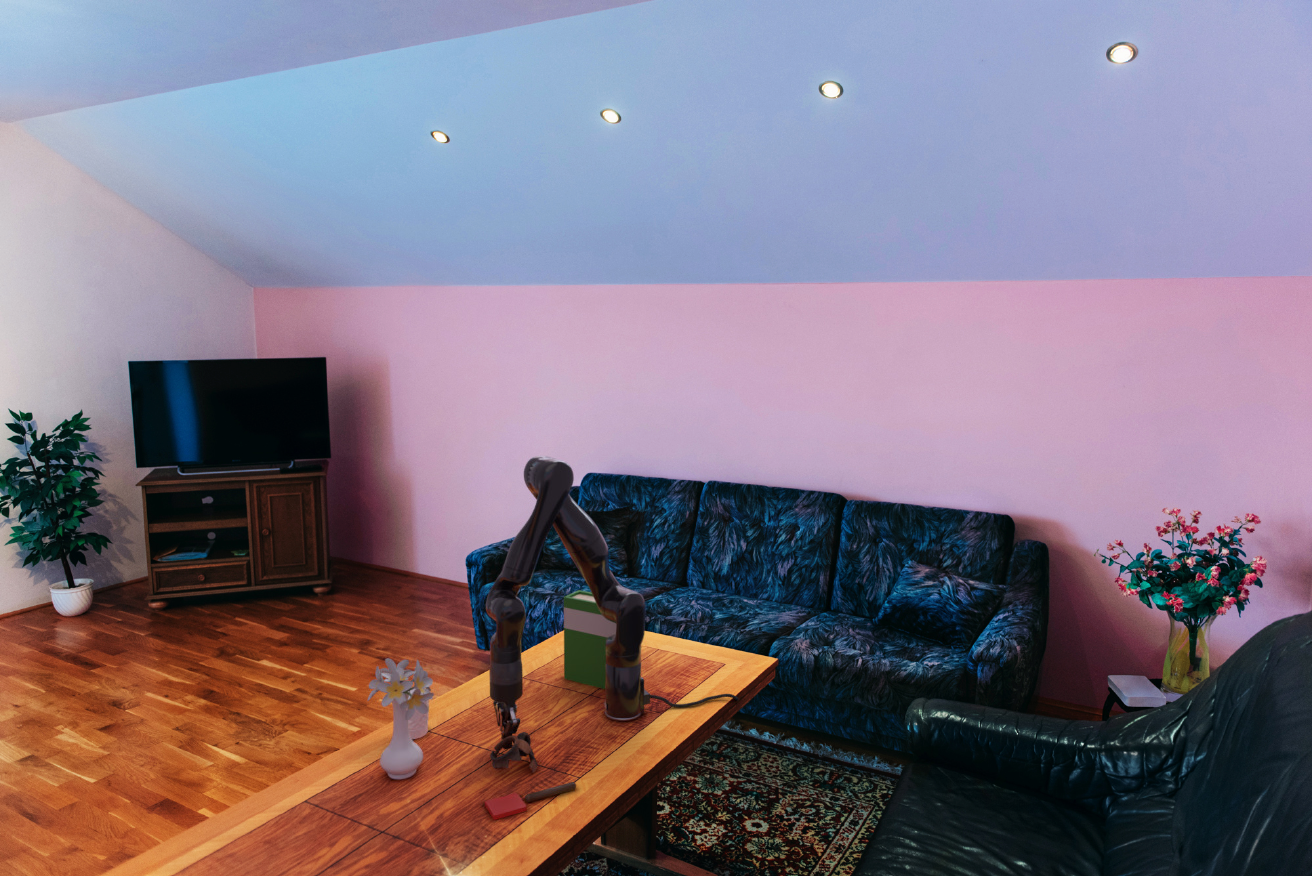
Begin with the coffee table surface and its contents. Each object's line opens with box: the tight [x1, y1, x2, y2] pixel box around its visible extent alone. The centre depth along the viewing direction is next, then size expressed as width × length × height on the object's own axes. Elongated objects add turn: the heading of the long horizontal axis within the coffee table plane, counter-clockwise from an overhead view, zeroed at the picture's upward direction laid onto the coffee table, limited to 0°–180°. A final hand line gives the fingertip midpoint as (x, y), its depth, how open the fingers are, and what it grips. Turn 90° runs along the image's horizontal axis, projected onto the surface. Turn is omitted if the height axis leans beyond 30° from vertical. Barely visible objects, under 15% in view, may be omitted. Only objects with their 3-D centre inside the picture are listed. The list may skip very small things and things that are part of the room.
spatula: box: [484, 781, 577, 821], centre depth 176 cm, size 19×6×2 cm, turn 119°
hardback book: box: [563, 589, 616, 690], centre depth 235 cm, size 18×7×24 cm, turn 60°
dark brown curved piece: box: [489, 731, 538, 774], centre depth 190 cm, size 12×10×8 cm
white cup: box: [407, 689, 430, 740], centre depth 204 cm, size 8×8×10 cm
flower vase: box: [367, 657, 435, 780], centre depth 185 cm, size 13×18×25 cm
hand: (507, 747), depth 196 cm, fingers closed
